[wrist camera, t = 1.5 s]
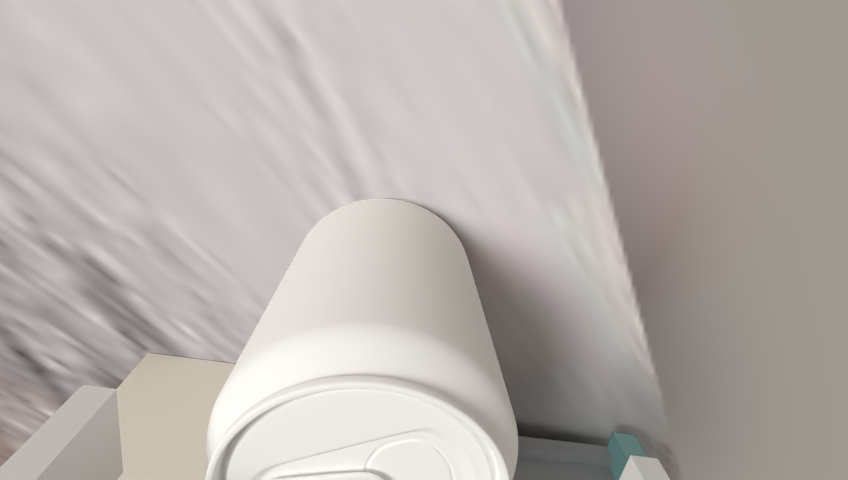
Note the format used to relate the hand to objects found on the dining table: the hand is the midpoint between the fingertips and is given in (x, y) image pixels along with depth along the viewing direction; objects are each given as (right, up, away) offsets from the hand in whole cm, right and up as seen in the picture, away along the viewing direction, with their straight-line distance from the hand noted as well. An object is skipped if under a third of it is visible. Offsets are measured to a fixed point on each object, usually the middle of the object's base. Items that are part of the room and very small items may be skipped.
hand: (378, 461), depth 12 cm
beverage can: (-1, +4, +10) cm, 11 cm away
